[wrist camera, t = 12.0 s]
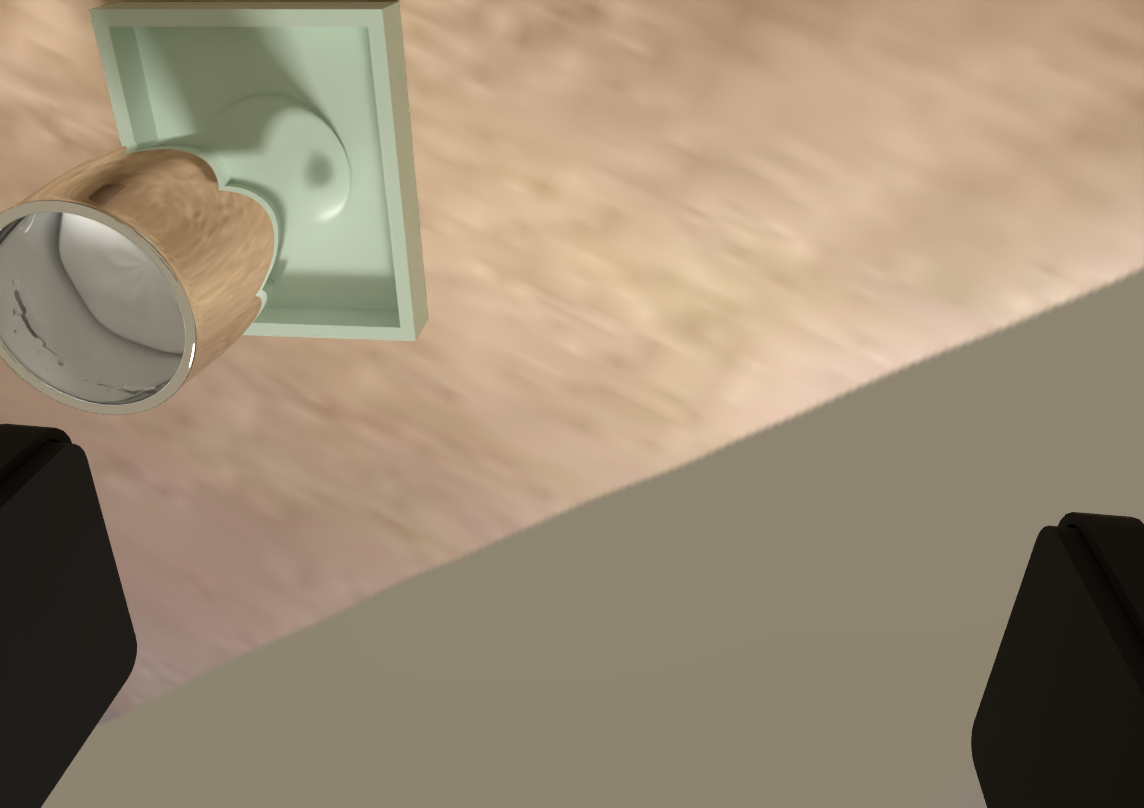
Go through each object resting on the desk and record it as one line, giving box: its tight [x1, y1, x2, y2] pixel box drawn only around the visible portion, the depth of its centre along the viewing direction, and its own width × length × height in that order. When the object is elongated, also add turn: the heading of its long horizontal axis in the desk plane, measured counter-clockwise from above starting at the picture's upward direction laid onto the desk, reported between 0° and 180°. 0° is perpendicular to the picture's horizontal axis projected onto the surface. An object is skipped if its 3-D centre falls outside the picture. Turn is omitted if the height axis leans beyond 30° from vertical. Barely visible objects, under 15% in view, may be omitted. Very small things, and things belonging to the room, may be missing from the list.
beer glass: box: [0, 95, 350, 415], centre depth 33 cm, size 7×7×15 cm
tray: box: [89, 2, 428, 341], centre depth 40 cm, size 13×11×2 cm
